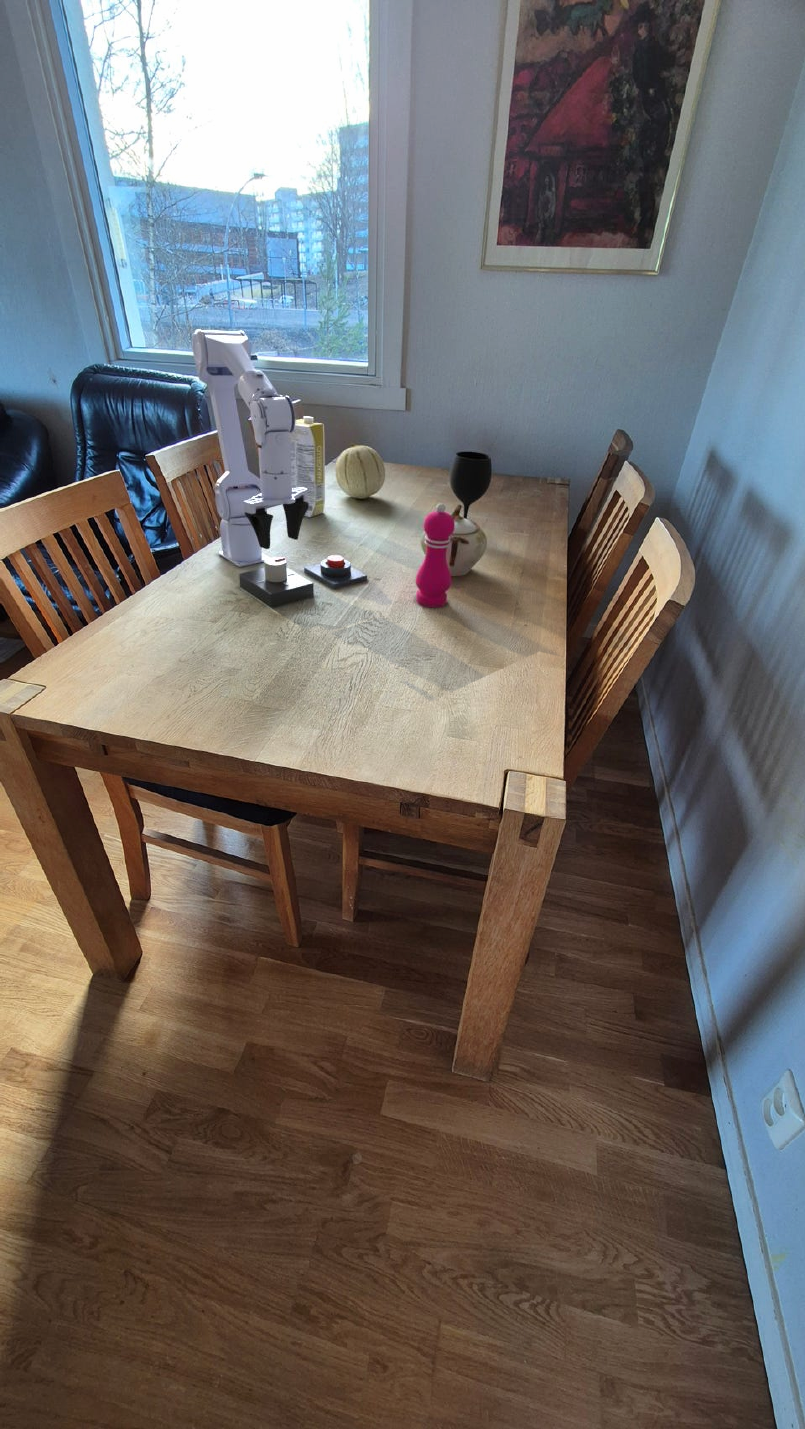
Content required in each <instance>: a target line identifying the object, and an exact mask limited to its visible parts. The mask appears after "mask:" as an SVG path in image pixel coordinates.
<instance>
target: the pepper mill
mask: <svg viewBox="0 0 805 1429" xmlns="http://www.w3.org/2000/svg"><path fill="white" fill-rule="evenodd" d="M446 508H447V507H446V505H445V504H444V503H438V504H437V505H436V507H435V510H434V511H431V512H430V513H428V514H427V515H426V516H425V518H424V521H423V532H424V531H425V532H426V534H427V535H426V536H425V544H426V555H424V559H423V561H422V563H421V565H420V567H419V569H418V571H417V573H416V576H415V585H416V587H417V588H418V590H417V591H416V599H415V600H416V602H417V603H418V604H419V605H421V606H424V607H427V608H440V607H443V606H445V605H446V603H447V598H448V593H447V591H449V589H450V587H451V585H452V576H450V572H449V568H448V565H447V561H446V551H447V547H449V545H450V540H451V539H450V537H449V536H450V535H451V534H452V533H453V531H454V527H455V524H454V520H453V517H452V516H451V514H450V513H449V512H447V511H446V510H447V509H446Z"/></svg>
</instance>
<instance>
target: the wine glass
mask: <svg viewBox="0 0 805 1429" xmlns="http://www.w3.org/2000/svg"><path fill="white" fill-rule="evenodd" d="M492 473H493V469H492V458H491V455H489V454H486V453H482V452H479V451H469V450H468V451H466V450H465V451H464V450H463V451H458V452H456V453H455V454H454V456H453V460H452V463H451V466H450V471H449V486H450V488H451V490H452V492H453V495H455V497H456V498H457V499H458V501H460V502H461V503H462V505H463V517H462V518H465V519H468V513H469V509H470V506H471V505H472V504H474V503H476V502H477V501H478V500H480V499H481V498H482V497H483V496H484V495H485V494H486V492H487V491H488V490H489V487H490V484H491V481H492Z"/></svg>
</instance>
